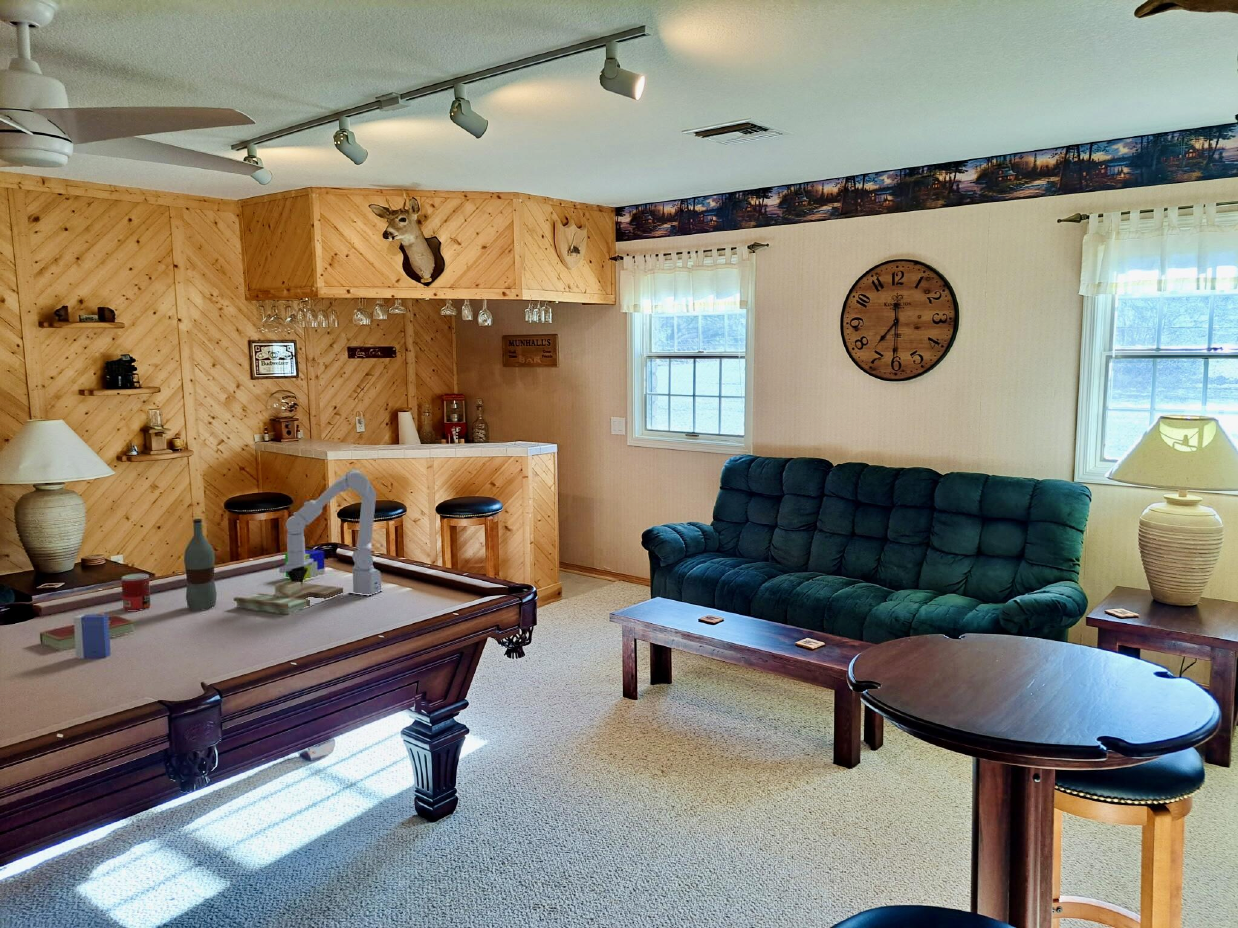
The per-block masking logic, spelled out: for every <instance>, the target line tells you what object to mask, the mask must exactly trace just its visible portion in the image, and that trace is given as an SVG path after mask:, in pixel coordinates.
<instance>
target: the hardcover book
mask: <svg viewBox="0 0 1238 928" xmlns="http://www.w3.org/2000/svg"><path fill="white" fill-rule="evenodd" d="M108 621H109V636H110V637H113V636H118V635H123V634H125V633H130V632H135V631H134V624H136V621H134V620H132V619H128V618H125V617H122V616H120V615H117V614H115V615H111V616H108ZM74 631H75V629H74V624H71V625H67V626H62V627H59V628H58V627H57V628H53V629H50V630H44V631H40V632H39V641H40V642H41V643H44V644H43V645H45V644H46V646H47V645H50V646H51V647H50V646H49V647H50V648H52V647H54V648H53V649H55V650H57V649H58V650H57V651H60V650H61V651H65V650H64V649H66V650H69V649H68V648H70V649H72V648H71V647H74V648H76V647H75V632H74ZM123 636H124V635H123ZM118 637H119V636H118ZM41 643H40V644H41Z"/></svg>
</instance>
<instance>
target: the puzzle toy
mask: <svg viewBox="0 0 1238 928" xmlns="http://www.w3.org/2000/svg"><path fill="white" fill-rule="evenodd" d="M306 559H313V562H314V564H313V565H308V566H304V568H307V572H306V574H305V576H304V579H303V580H305V579H306V578H311V577H316V576H318V575H323V574H325V573H326V571H325V570H326V568H325V551H324V550H319V549H313V548H308V547H307V548H306V547H305V560H306ZM284 560H285V564H284V565H286V563H287V562H288V553H287V552H285V553H284ZM325 575H326V574H325ZM286 577H289V575H288V574H287V572H286V573H285V578H286ZM289 578H290V577H289Z"/></svg>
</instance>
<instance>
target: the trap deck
mask: <svg viewBox="0 0 1238 928" xmlns="http://www.w3.org/2000/svg"><path fill="white" fill-rule="evenodd" d="M301 589H302V594H299V595H296V596H293V597H290V598H286V597H278V596H275V593H274V594H267V593H262V592H261V593H259V592H257V593H254V594H251V595H249V596H246V597H242V596H241V597H240V596H234V597H233V601H234V602H236V608H237V607H241V608H240V609H244V608H245V609H244V610H251V609H254V610H253V611H258V610H261V611H260V612H267V613H273V612H275V613H274V614H280V613H282V614H281V615H287V614H289V615H291V614H290V613H292V614H294V613H293V612H295V611H297V610H300V609H303V608H304V607H306V606H310V600H308V599H306V598H308V597H314V598H324V599H326V598H330V597H333V596H335V595H338V594H341V593H343V594H344V587H340V586H332V585H323V584H314V583H306V582H303V583H302V587H301ZM303 610H304V609H303ZM300 611H301V610H300ZM297 612H298V611H297ZM295 613H296V612H295Z"/></svg>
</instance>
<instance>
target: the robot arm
mask: <svg viewBox="0 0 1238 928" xmlns="http://www.w3.org/2000/svg"><path fill="white" fill-rule="evenodd" d="M350 490H352V491H354V492H356V493H357V494H358V495H359V496H360V497H361V504H360V513H359V514H360V516H359V526H358V533H357V534H358V535H357V542H356V545H355V549H354V551H353V553H352V560H353V562H354V565H353V566H352V591H353V592H355V593H362V594H373V593H375V592H378V591H379V590H382V574H381V571H380V570H378V569H376V568H375V567H374V565H373V563H374V558H373V554H372V551H373V550H372V538H373V529H374V518H375V510H376V503H377V502H376V500H377V493H376V491H375V489H374V487H373V486H372V483H371V482H370V480H369V479H368V477H366V475H364V474H363V472H361V471H360V470H358V469H350V470H349V471H347V472H346V474H343V475H342V476H340V477H339V478H338V479H337V480H336V481H335V482H333V484H331V485H330V486H329V488H327V489H326V490H325V491H324V492H323V493H322V494H321V495H320V496H319V497H318V498H316V500H313V499H311V500H309V501H305V502H304V503H303V506H302V507H301V508H300V509H298V510H297V511H295V512H293V515H292V516H290V517H289V518H287V520H286V523H285V526H286V530H287V533H286V536H287V538H286V544H287V545H286V548H287V550H286V553H288V562H287V563H286V565H285V564H284V565H282V566H279V567H278V568H279V572H278V573H279V574H286V572H287V574H288V575H289V577H290V579H289V580H290V581H295V582H301V587H302V583H304V582H303V579H304V576H305V574H306V572H307V568H304V566H308V565H313V564H314V562H313V559H306V560H305V549H306V543H305V539H306V538H305V536H304V531H305V528H306V526H307V525H310V524H311V523H312V522H313V521H314V520H315V519H316V518H317V517H319V516H320V515H321V514H322V513H323V507H325V506H326V504H328V503H329V502H330V501H331V500H333V499H334V498H335V497H336V496H337V495H338V494H340V493H344V492H345V493H346V492H349V491H350Z"/></svg>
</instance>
